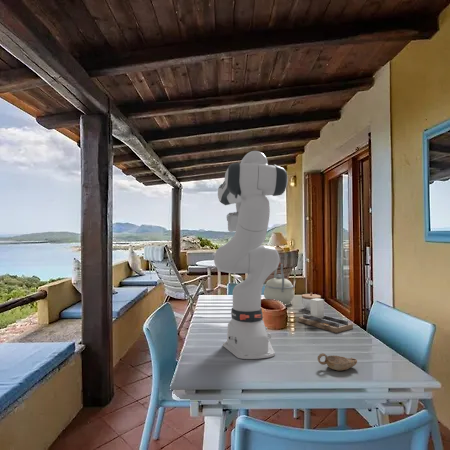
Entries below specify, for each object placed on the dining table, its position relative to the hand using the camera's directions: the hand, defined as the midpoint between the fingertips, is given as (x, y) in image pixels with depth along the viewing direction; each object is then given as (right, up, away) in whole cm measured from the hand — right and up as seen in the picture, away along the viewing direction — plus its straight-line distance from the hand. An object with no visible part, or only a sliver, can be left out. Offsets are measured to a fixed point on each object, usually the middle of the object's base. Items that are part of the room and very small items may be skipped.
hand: (250, 239), depth 169 cm
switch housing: (+35, -41, -4) cm, 54 cm away
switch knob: (+33, -38, 0) cm, 50 cm away
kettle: (+21, -41, +44) cm, 64 cm away
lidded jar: (+36, -41, +27) cm, 61 cm away
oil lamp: (+25, -41, -55) cm, 73 cm away
